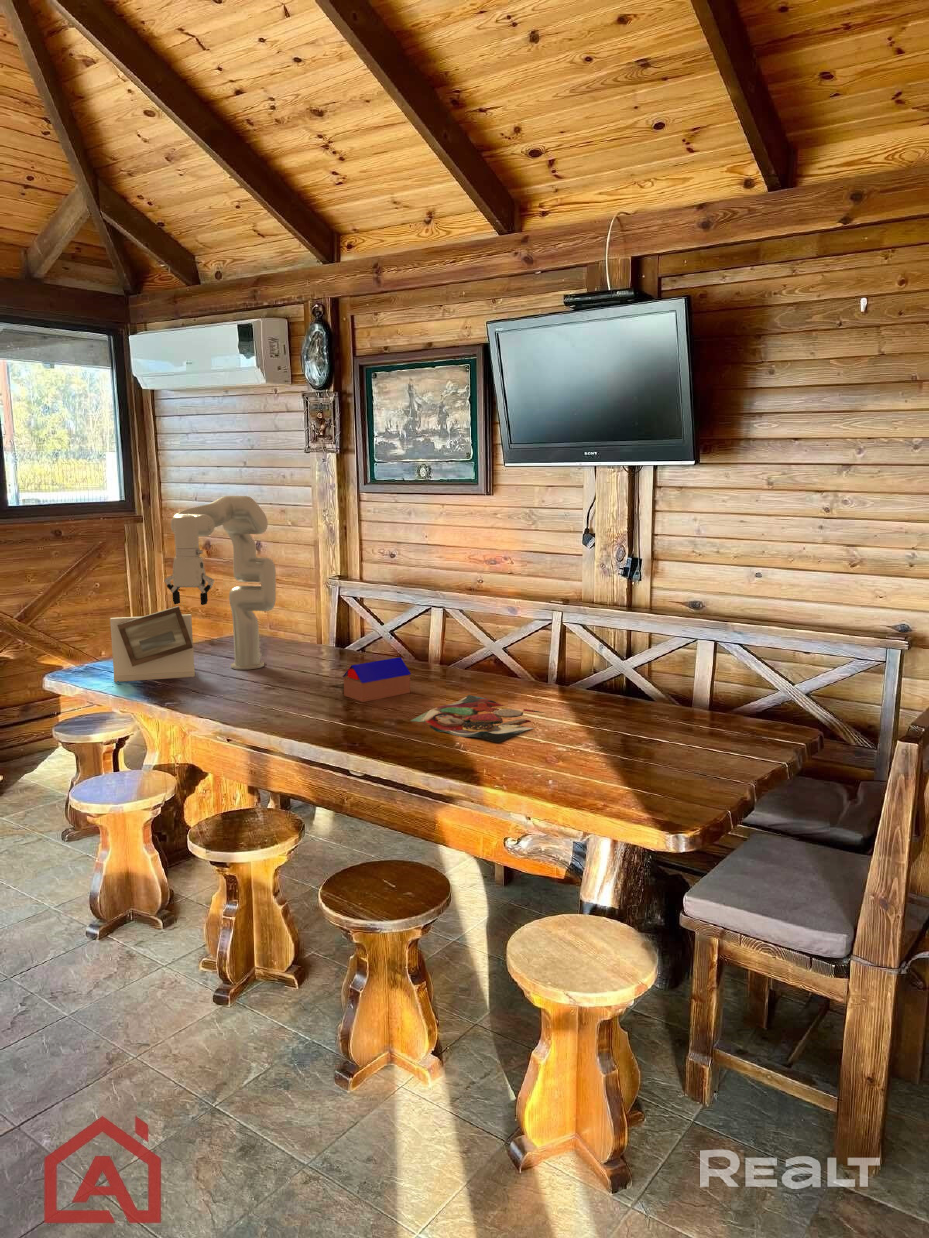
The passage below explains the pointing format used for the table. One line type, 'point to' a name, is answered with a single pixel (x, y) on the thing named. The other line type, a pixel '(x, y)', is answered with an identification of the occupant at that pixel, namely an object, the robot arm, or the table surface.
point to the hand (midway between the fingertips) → (190, 604)
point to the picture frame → (155, 636)
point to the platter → (475, 719)
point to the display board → (154, 669)
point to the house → (377, 680)
